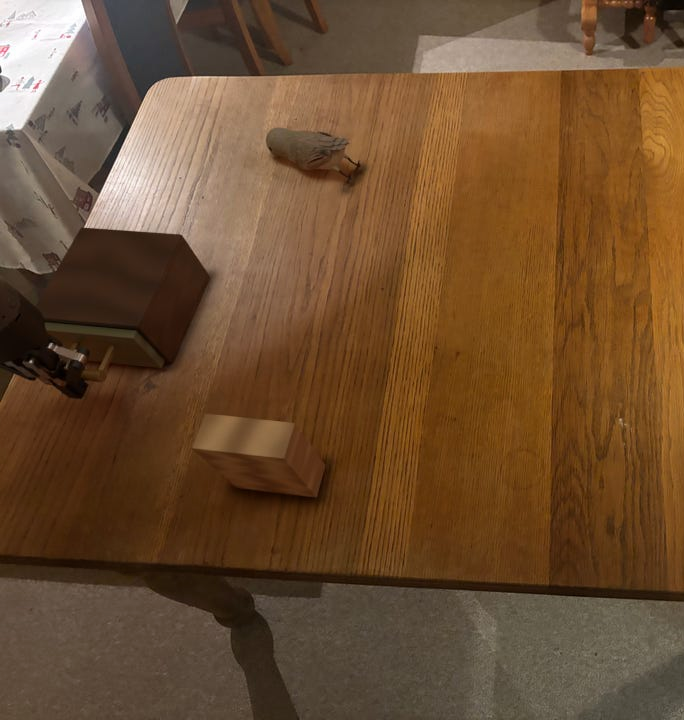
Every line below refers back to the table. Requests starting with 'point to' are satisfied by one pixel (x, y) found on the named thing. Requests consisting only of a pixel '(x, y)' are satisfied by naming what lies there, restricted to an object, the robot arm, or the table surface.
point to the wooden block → (260, 454)
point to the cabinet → (128, 285)
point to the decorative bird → (309, 149)
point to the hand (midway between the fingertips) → (80, 392)
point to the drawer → (106, 347)
